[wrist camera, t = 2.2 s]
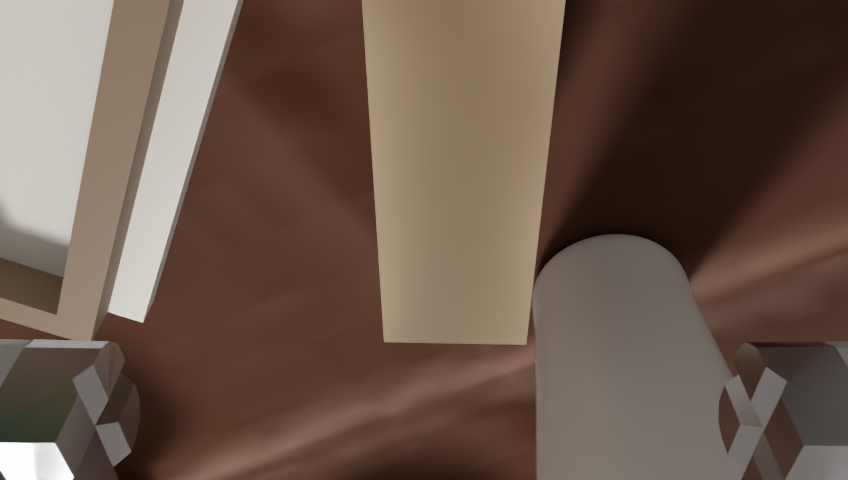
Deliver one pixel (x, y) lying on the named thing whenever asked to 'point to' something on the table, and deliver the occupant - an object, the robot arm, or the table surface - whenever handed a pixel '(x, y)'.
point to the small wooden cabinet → (99, 149)
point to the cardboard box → (459, 161)
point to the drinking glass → (625, 368)
